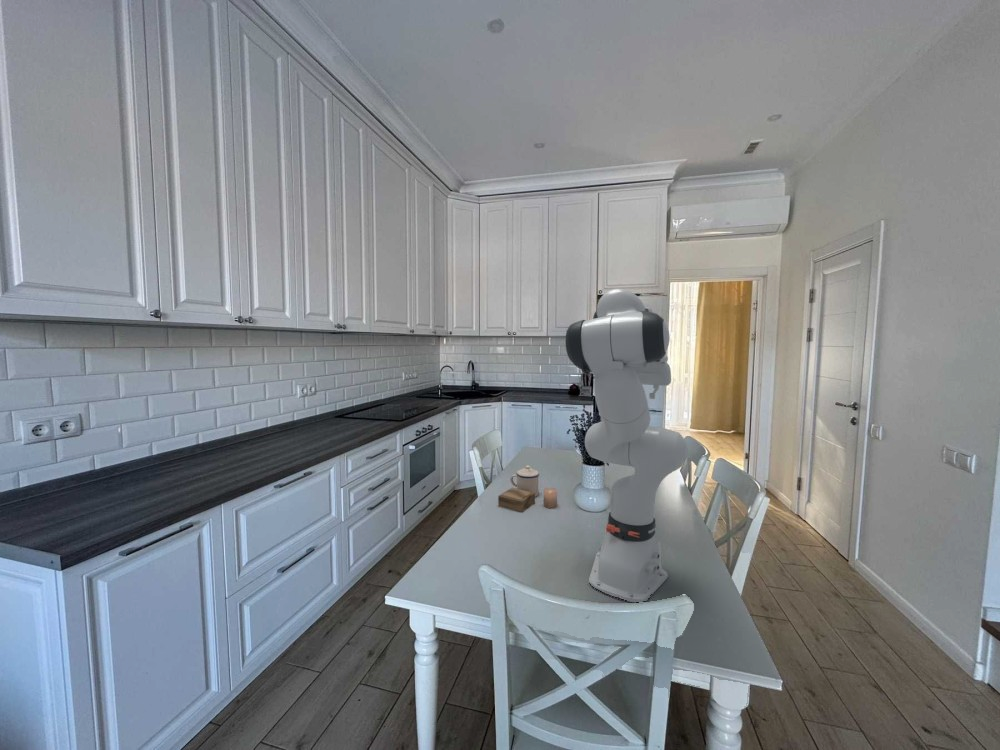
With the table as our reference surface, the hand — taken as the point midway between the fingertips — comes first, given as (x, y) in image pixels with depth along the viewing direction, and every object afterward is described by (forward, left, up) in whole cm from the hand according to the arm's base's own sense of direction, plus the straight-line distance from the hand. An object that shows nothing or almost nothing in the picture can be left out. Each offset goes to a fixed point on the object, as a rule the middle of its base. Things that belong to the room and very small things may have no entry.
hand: (637, 397), depth 132 cm
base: (-11, +40, -42) cm, 60 cm away
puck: (-5, +29, -43) cm, 52 cm away
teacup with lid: (0, +43, -43) cm, 61 cm away
